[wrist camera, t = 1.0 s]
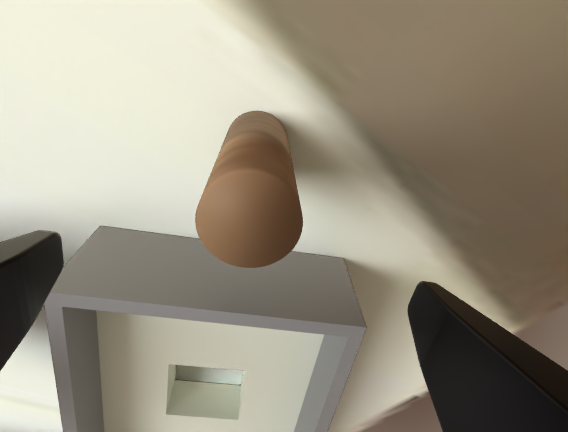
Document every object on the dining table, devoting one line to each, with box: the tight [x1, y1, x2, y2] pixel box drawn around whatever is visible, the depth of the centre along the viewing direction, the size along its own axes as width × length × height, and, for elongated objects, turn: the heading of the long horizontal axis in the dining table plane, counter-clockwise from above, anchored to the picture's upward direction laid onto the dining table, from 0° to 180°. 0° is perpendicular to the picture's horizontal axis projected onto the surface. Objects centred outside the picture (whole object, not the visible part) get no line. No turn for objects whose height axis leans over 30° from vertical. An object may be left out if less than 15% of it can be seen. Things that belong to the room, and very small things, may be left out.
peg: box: [195, 111, 303, 268], centre depth 16 cm, size 4×4×10 cm
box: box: [44, 226, 367, 432], centre depth 25 cm, size 16×22×6 cm
